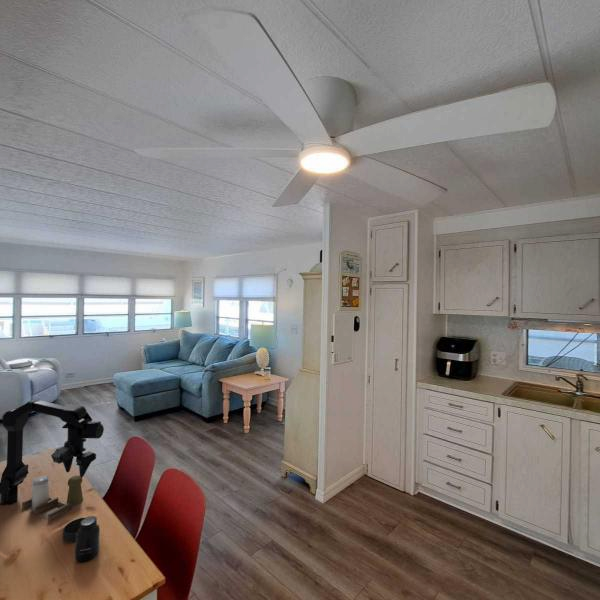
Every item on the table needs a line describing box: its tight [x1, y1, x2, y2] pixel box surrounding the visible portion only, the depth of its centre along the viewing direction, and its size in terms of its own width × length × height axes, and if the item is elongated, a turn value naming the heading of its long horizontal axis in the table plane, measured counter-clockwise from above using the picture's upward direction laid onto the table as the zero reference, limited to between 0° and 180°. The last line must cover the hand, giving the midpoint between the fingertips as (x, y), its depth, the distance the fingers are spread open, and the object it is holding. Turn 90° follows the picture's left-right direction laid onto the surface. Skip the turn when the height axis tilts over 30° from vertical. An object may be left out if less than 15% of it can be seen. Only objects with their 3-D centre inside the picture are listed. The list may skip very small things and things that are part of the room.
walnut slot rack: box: [21, 495, 73, 522], centre depth 134 cm, size 19×8×3 cm, turn 66°
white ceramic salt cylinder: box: [31, 475, 50, 510], centre depth 136 cm, size 6×6×11 cm
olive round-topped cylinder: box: [66, 475, 84, 506], centre depth 140 cm, size 6×6×11 cm
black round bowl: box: [62, 517, 85, 543], centre depth 121 cm, size 9×9×4 cm
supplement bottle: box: [74, 515, 101, 564], centre depth 111 cm, size 7×7×12 cm
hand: (74, 474), depth 140 cm, fingers open, 9 cm apart
